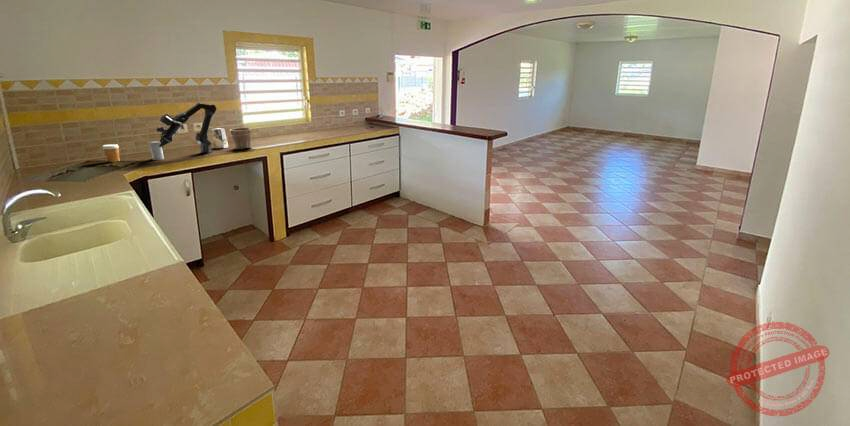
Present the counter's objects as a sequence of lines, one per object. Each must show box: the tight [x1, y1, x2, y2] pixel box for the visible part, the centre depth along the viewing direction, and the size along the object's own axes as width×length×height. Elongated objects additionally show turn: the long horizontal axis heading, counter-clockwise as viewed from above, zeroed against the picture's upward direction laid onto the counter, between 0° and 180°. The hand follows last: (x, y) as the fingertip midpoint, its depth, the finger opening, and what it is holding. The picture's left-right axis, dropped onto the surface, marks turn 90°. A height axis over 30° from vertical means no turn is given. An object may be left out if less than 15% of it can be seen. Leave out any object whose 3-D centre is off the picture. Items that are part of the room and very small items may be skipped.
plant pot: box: [229, 127, 252, 150], centre depth 340 cm, size 16×16×16 cm
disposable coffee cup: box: [102, 143, 121, 163], centre depth 290 cm, size 10×10×12 cm
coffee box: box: [211, 127, 229, 149], centre depth 343 cm, size 9×6×16 cm
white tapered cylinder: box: [148, 141, 165, 161], centre depth 298 cm, size 7×7×12 cm
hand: (159, 145), depth 298 cm, fingers open, 9 cm apart
